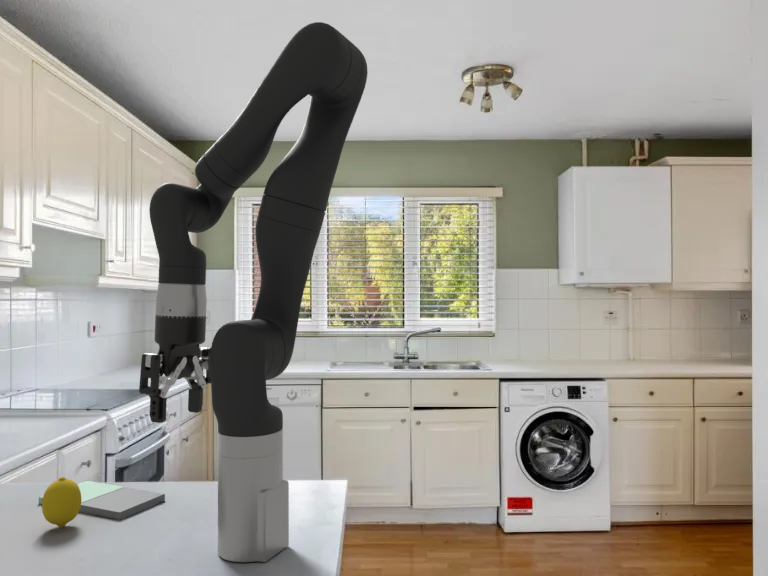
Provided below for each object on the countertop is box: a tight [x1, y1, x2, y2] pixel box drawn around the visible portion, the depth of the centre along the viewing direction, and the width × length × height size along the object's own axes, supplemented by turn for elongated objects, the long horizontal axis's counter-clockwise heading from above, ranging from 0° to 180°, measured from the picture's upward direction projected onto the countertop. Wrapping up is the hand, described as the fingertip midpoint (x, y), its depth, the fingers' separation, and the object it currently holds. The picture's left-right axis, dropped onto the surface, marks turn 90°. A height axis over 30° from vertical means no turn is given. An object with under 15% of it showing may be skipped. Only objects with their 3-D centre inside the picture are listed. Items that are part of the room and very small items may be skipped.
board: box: [38, 480, 166, 520], centre depth 104 cm, size 20×10×1 cm, turn 66°
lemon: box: [41, 476, 81, 529], centre depth 92 cm, size 6×6×8 cm
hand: (177, 416), depth 90 cm, fingers open, 8 cm apart
